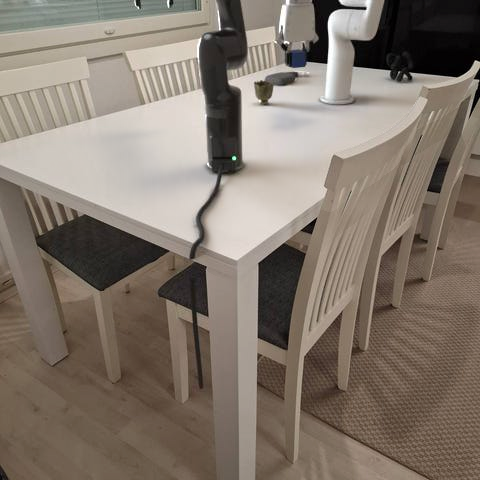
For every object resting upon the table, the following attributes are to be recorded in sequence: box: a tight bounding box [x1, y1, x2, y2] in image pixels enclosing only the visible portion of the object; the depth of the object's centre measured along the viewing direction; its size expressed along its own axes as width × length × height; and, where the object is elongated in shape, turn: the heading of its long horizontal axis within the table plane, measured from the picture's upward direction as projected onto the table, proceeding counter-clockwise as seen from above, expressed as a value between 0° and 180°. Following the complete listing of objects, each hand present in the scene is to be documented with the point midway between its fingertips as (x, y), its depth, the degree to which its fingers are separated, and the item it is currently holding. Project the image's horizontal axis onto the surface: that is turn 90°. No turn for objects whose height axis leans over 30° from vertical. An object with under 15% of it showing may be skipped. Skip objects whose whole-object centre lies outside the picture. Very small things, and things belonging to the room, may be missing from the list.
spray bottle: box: [264, 70, 310, 86], centre depth 204 cm, size 3×11×25 cm
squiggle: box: [385, 51, 414, 83], centre depth 198 cm, size 11×10×15 cm
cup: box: [253, 79, 275, 106], centre depth 169 cm, size 8×7×8 cm
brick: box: [290, 48, 306, 69], centre depth 138 cm, size 5×4×4 cm
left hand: (154, 8), depth 126 cm, fingers open, 8 cm apart
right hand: (295, 64), depth 139 cm, fingers closed on brick, 4 cm apart
